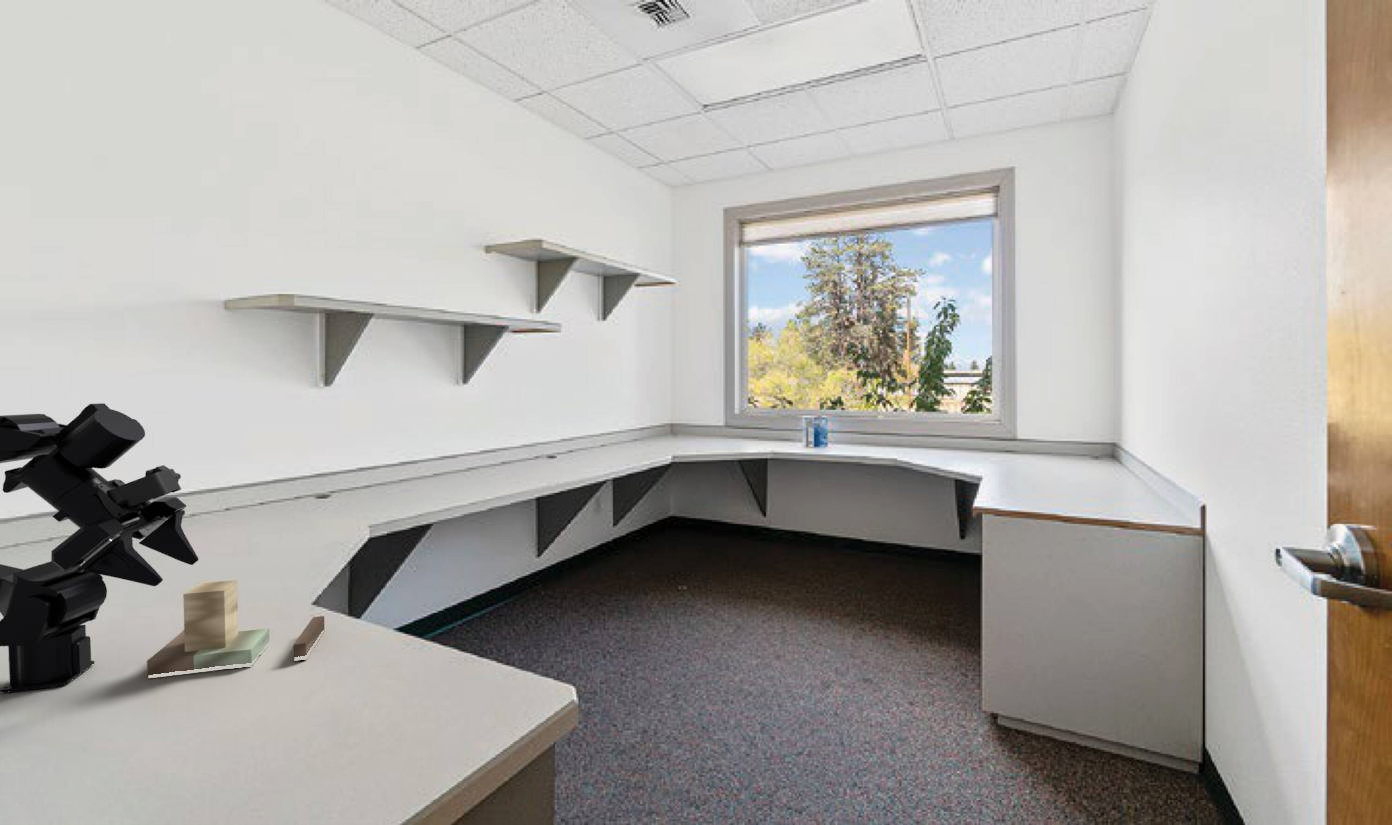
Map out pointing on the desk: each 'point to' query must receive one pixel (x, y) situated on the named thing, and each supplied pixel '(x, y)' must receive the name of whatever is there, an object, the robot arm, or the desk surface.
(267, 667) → the desk surface
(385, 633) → the desk surface
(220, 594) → the beech block
